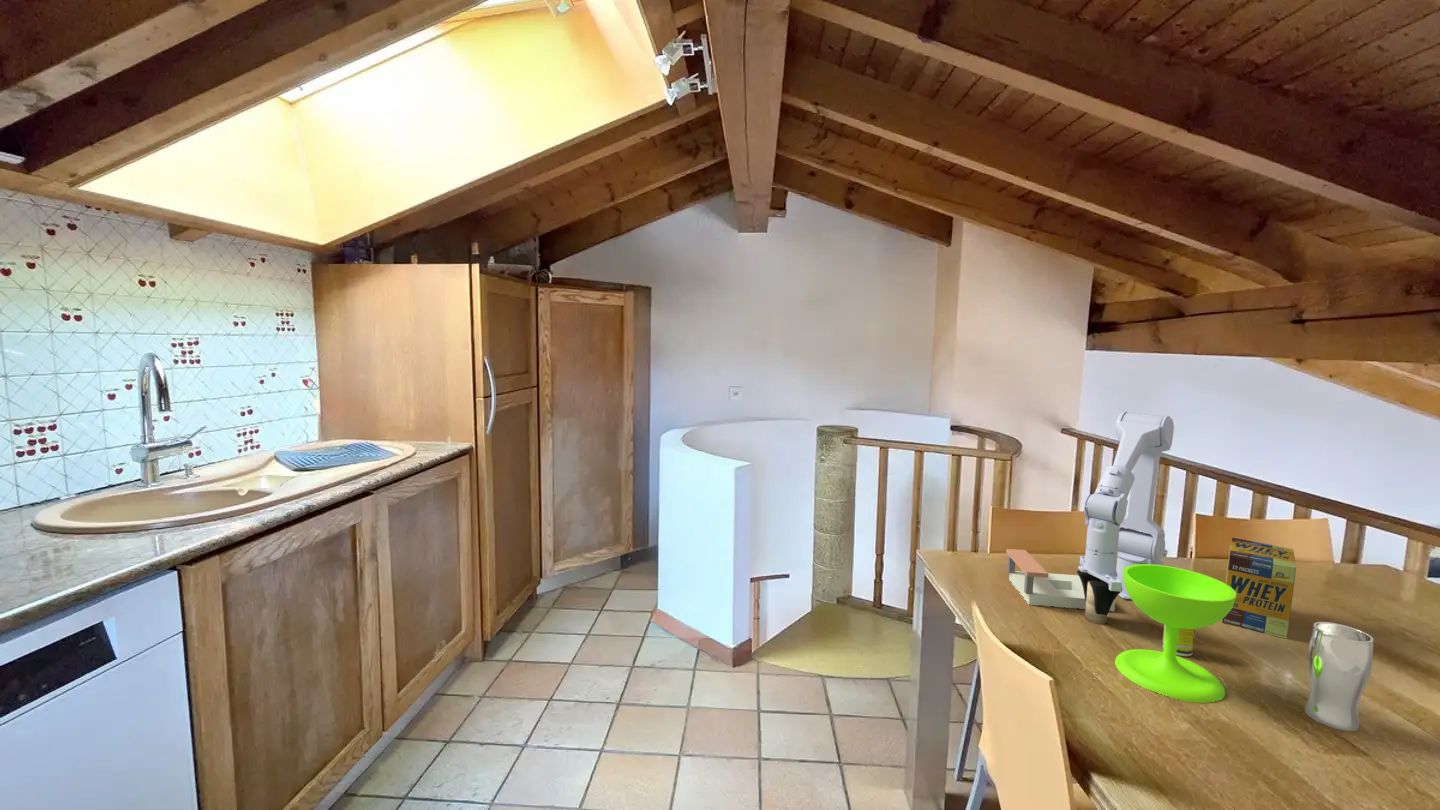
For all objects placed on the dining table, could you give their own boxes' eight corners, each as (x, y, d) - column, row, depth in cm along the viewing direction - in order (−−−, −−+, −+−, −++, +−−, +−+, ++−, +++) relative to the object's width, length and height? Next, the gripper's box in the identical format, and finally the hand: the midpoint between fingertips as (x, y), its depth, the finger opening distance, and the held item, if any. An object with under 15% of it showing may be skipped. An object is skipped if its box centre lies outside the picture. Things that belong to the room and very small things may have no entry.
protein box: (1220, 623, 126) (1228, 554, 124) (1224, 600, 137) (1231, 536, 135) (1288, 640, 119) (1297, 567, 117) (1285, 614, 130) (1294, 547, 128)
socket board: (1086, 585, 144) (1087, 575, 144) (1114, 611, 131) (1115, 600, 130) (1009, 580, 147) (1009, 570, 147) (1028, 604, 134) (1029, 594, 133)
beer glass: (1288, 706, 97) (1299, 621, 95) (1326, 704, 97) (1337, 620, 96) (1335, 735, 90) (1348, 643, 88) (1376, 732, 91) (1389, 642, 89)
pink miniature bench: (1023, 570, 147) (1025, 550, 146) (1046, 596, 132) (1048, 573, 132) (1005, 569, 148) (1006, 548, 147) (1025, 595, 133) (1027, 572, 132)
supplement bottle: (1198, 658, 112) (1202, 616, 111) (1170, 655, 112) (1174, 614, 112) (1183, 645, 116) (1187, 605, 115) (1157, 643, 117) (1160, 603, 116)
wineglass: (1234, 714, 95) (1246, 610, 93) (1116, 683, 103) (1125, 586, 101) (1215, 668, 108) (1226, 575, 106) (1112, 643, 117) (1120, 558, 115)
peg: (1101, 616, 128) (1104, 581, 127) (1110, 624, 124) (1113, 589, 124) (1081, 614, 129) (1084, 580, 128) (1089, 623, 125) (1092, 587, 124)
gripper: (1067, 536, 133) (1062, 593, 134) (1097, 560, 118) (1091, 623, 120) (1101, 538, 132) (1096, 595, 133) (1135, 562, 117) (1129, 626, 119)
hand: (1096, 609), depth 126 cm, fingers closed on peg, 4 cm apart
